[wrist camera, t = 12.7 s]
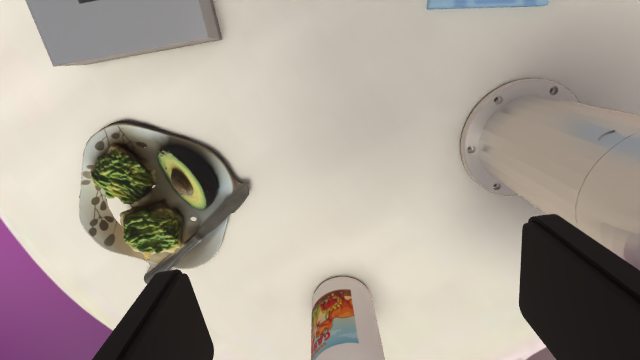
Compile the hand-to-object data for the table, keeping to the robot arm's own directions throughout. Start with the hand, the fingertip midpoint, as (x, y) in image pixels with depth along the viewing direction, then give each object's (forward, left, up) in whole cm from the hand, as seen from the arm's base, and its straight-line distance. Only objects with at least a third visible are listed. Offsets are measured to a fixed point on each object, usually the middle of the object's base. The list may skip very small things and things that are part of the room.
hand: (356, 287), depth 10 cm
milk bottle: (+2, +24, -29) cm, 37 cm away
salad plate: (+20, +6, -29) cm, 36 cm away
